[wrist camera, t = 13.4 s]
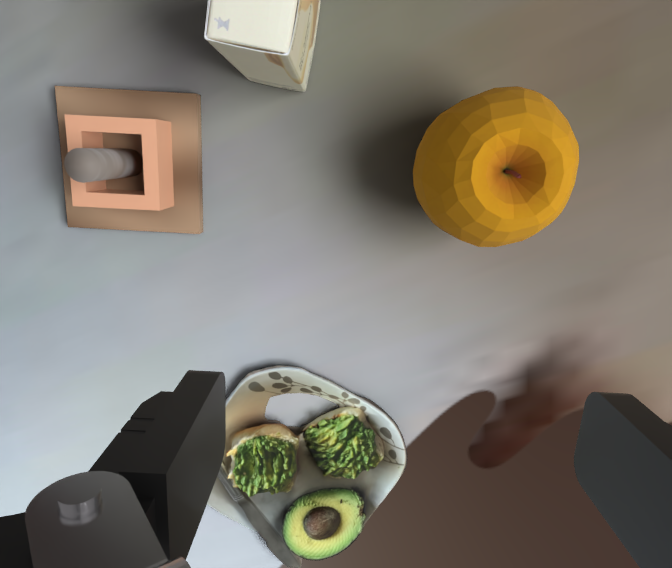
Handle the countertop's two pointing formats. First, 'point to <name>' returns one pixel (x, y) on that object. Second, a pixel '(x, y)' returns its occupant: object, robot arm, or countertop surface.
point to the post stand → (134, 157)
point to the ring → (155, 162)
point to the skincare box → (265, 38)
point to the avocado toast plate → (305, 466)
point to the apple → (496, 167)
